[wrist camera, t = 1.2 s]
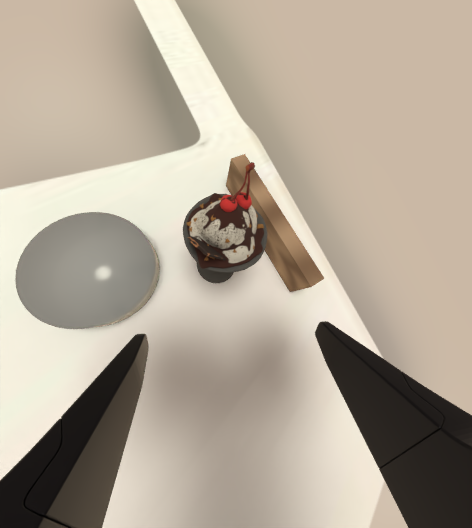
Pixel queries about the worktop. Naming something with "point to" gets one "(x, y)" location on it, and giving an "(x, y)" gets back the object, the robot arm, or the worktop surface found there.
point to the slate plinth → (87, 271)
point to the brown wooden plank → (275, 230)
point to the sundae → (225, 233)
